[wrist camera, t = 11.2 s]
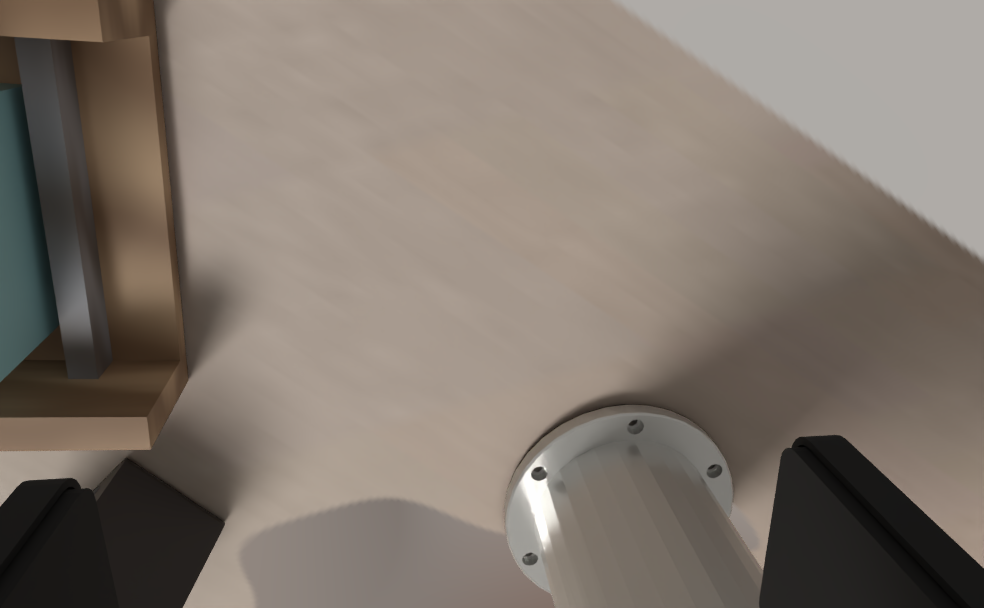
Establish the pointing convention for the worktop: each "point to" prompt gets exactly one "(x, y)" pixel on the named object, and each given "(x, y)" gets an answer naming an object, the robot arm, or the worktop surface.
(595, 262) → the worktop surface
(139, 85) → the cabinet track
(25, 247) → the door panel
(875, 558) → the robot arm
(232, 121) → the worktop surface
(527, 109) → the worktop surface
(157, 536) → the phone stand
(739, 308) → the worktop surface
